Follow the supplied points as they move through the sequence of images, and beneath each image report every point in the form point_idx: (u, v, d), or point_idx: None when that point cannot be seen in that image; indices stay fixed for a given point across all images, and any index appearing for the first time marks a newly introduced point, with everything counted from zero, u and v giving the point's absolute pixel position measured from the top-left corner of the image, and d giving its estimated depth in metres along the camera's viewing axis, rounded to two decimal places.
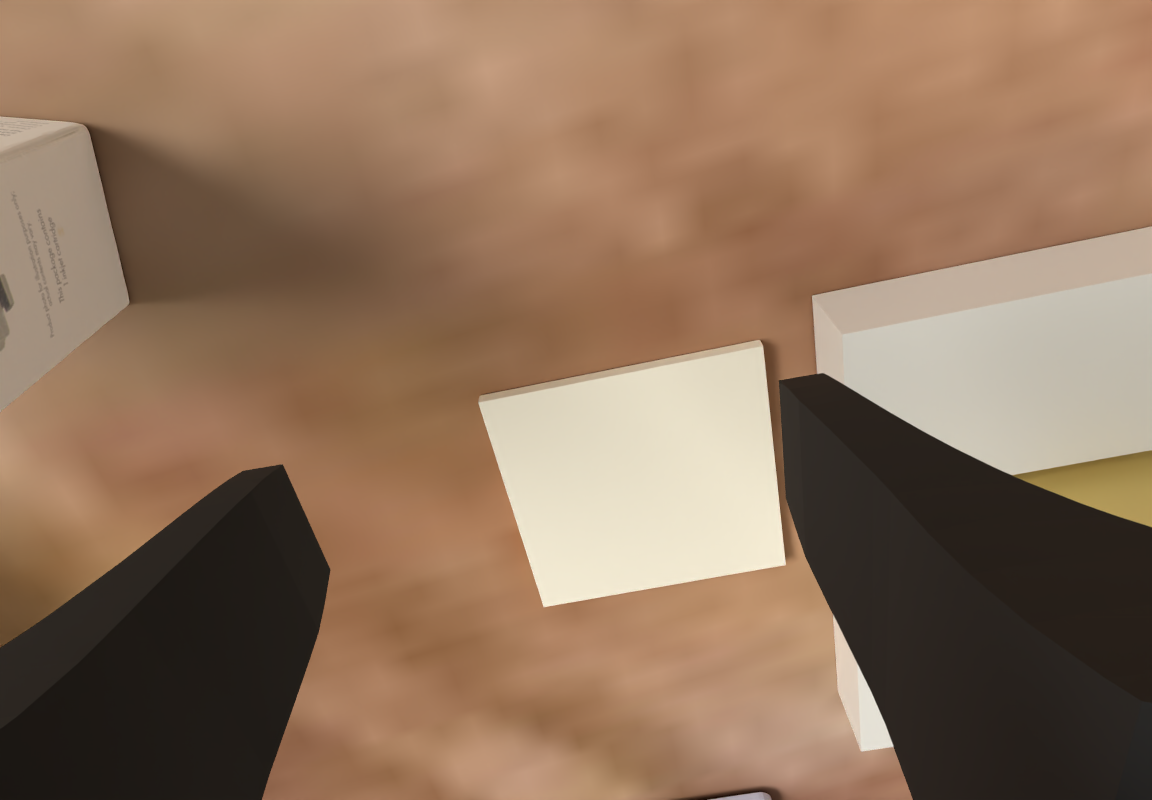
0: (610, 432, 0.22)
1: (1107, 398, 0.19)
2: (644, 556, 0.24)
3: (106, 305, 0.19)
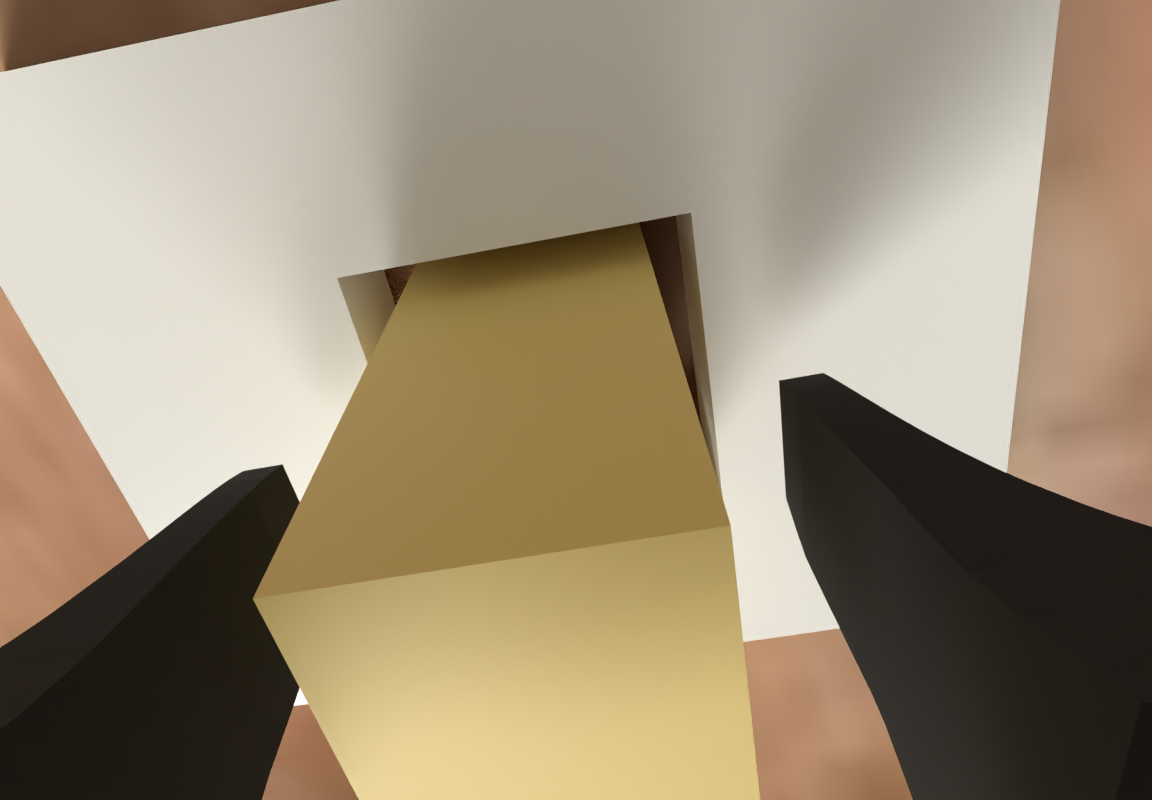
0: None
1: (283, 443, 0.14)
2: None
3: None
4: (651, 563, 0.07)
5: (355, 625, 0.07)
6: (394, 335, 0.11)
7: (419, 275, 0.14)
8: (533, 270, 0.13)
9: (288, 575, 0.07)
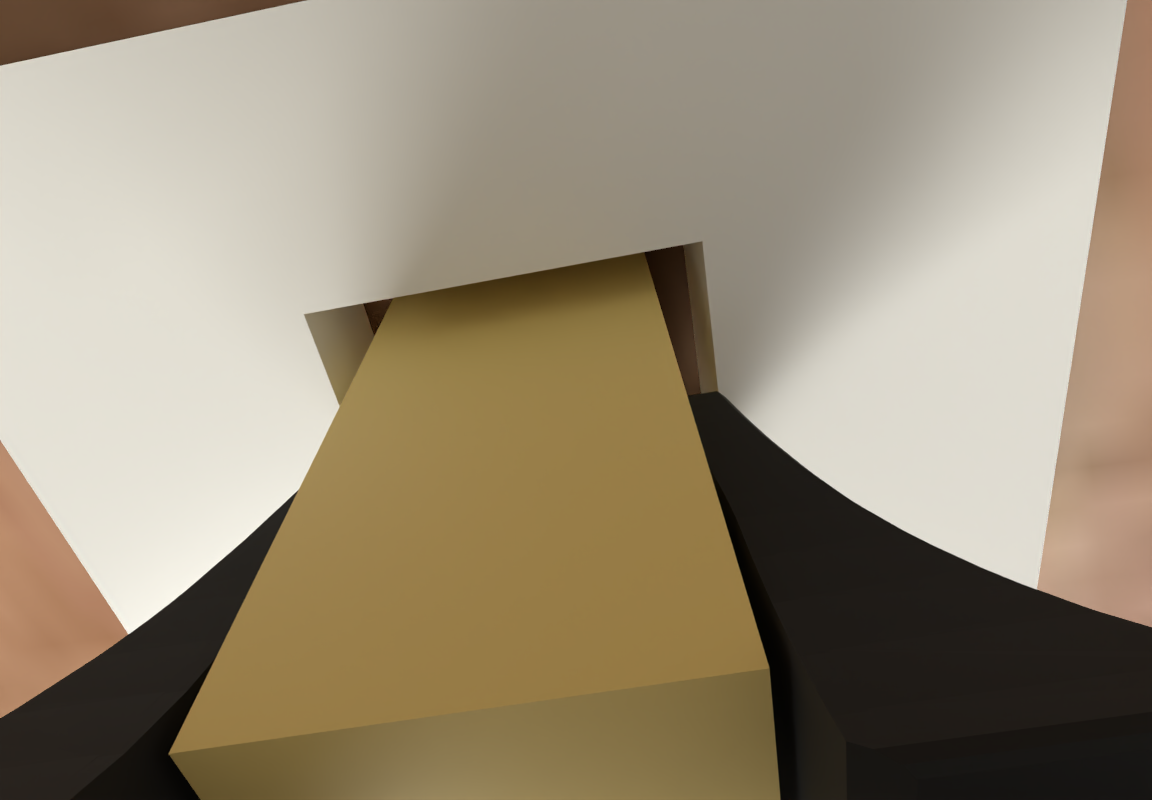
0: None
1: (249, 493, 0.12)
2: None
3: None
4: (667, 710, 0.05)
5: (299, 780, 0.06)
6: (366, 382, 0.10)
7: (398, 306, 0.12)
8: (525, 303, 0.11)
9: (218, 718, 0.06)
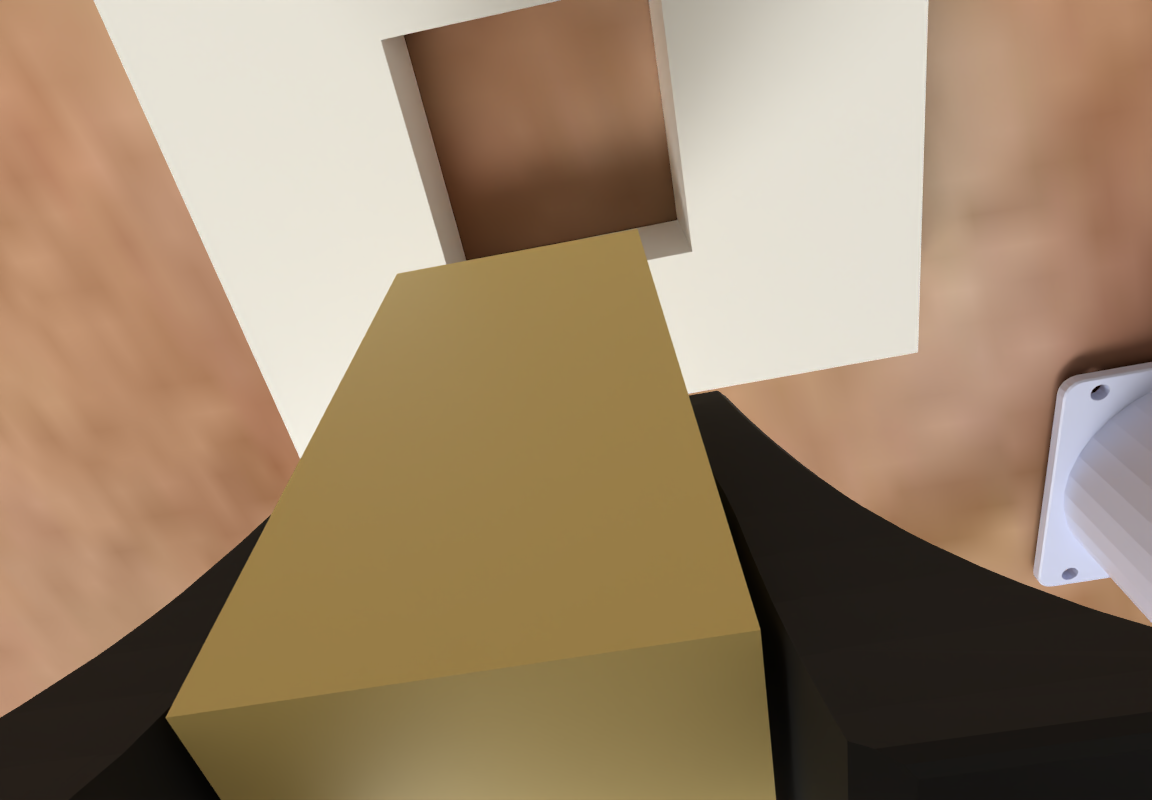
0: None
1: (335, 194, 0.17)
2: None
3: None
4: (661, 675, 0.05)
5: (295, 745, 0.06)
6: (363, 365, 0.10)
7: (396, 293, 0.12)
8: (522, 288, 0.12)
9: (214, 684, 0.06)
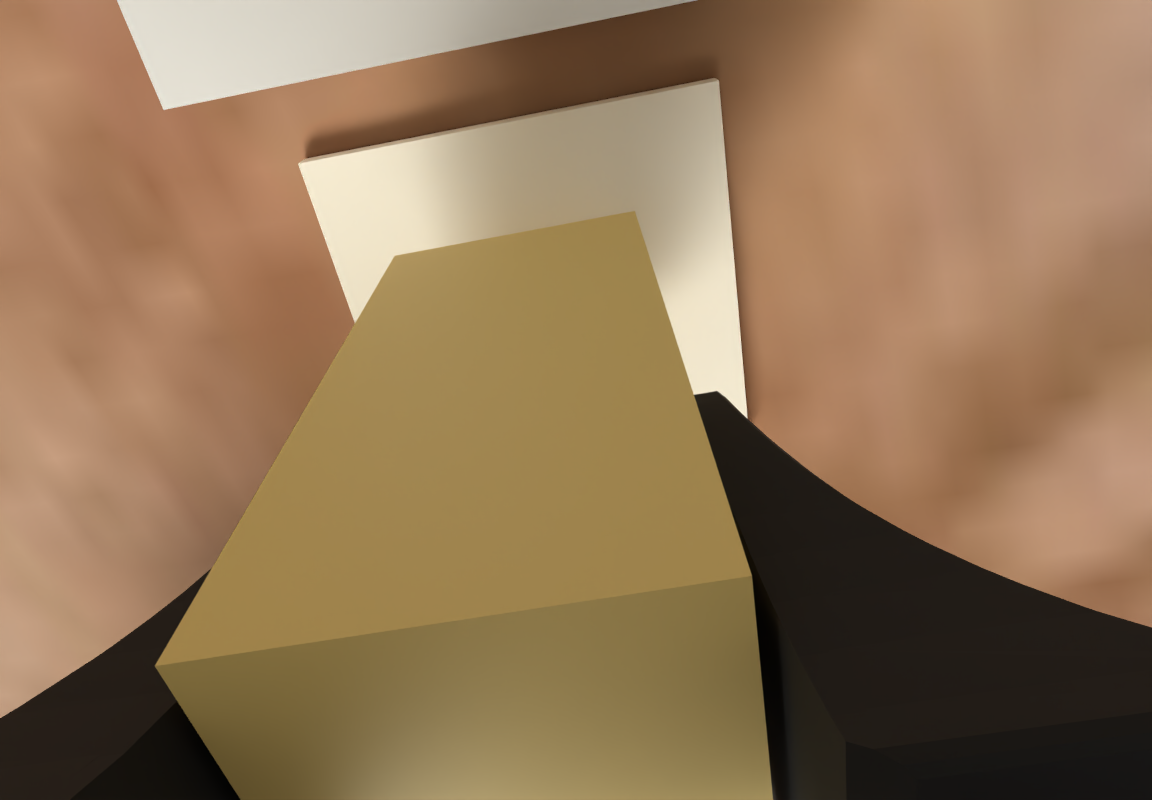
0: None
1: None
2: (671, 313, 0.16)
3: None
4: (651, 622, 0.05)
5: (285, 696, 0.06)
6: (359, 340, 0.10)
7: (393, 273, 0.12)
8: (518, 267, 0.12)
9: (204, 635, 0.06)
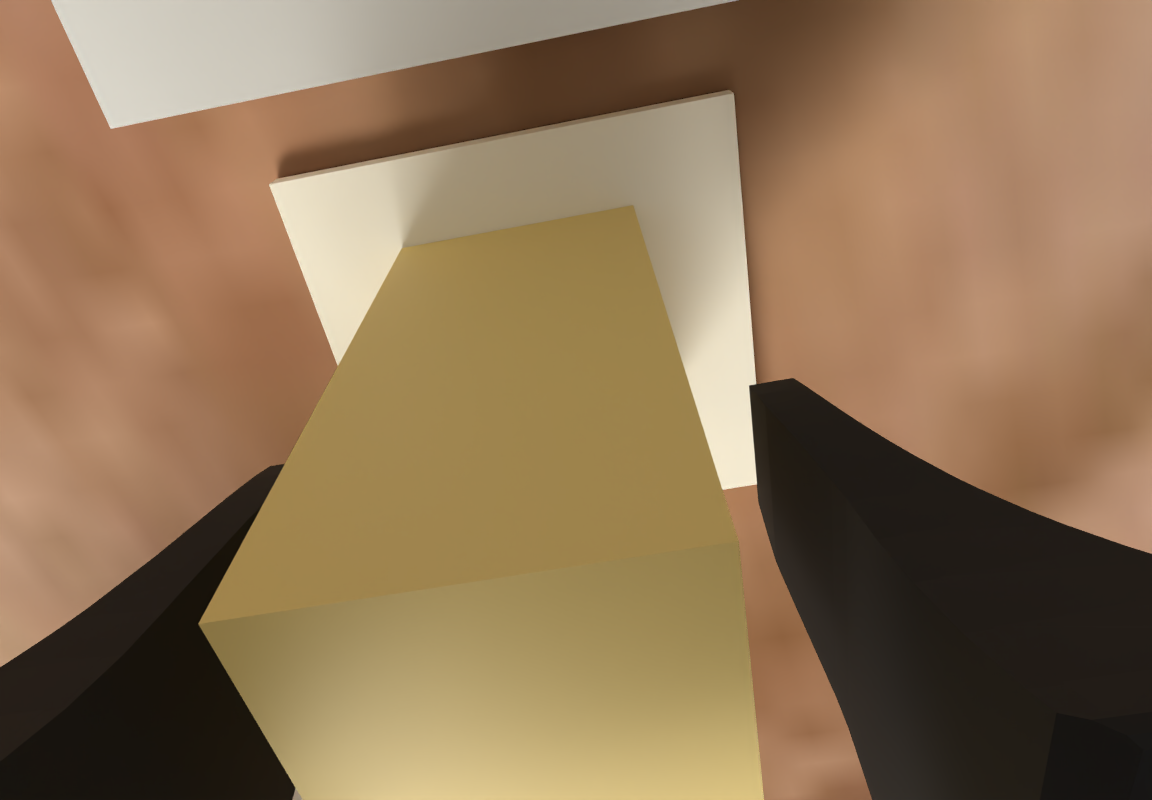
0: None
1: None
2: (679, 345, 0.15)
3: None
4: (649, 583, 0.06)
5: (315, 652, 0.06)
6: (372, 328, 0.11)
7: (401, 265, 0.13)
8: (522, 259, 0.12)
9: (241, 597, 0.06)
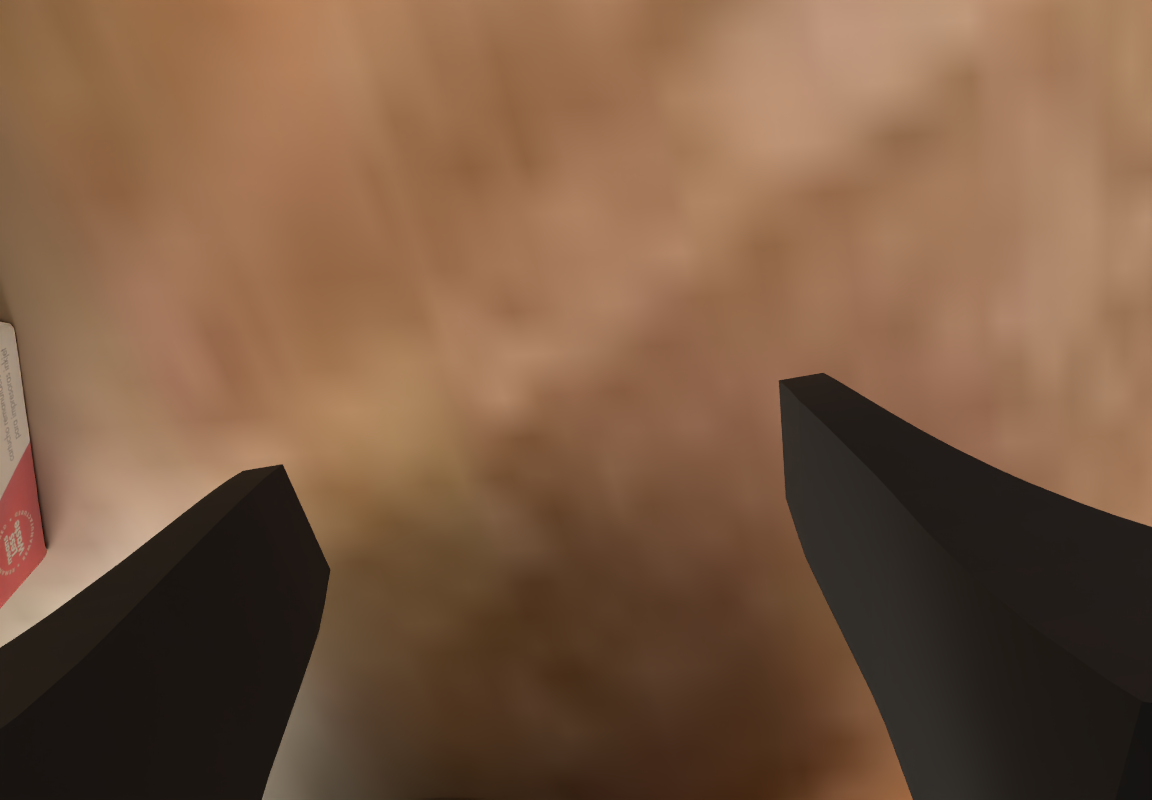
0: None
1: None
2: None
3: None
4: None
5: None
6: None
7: None
8: None
9: None
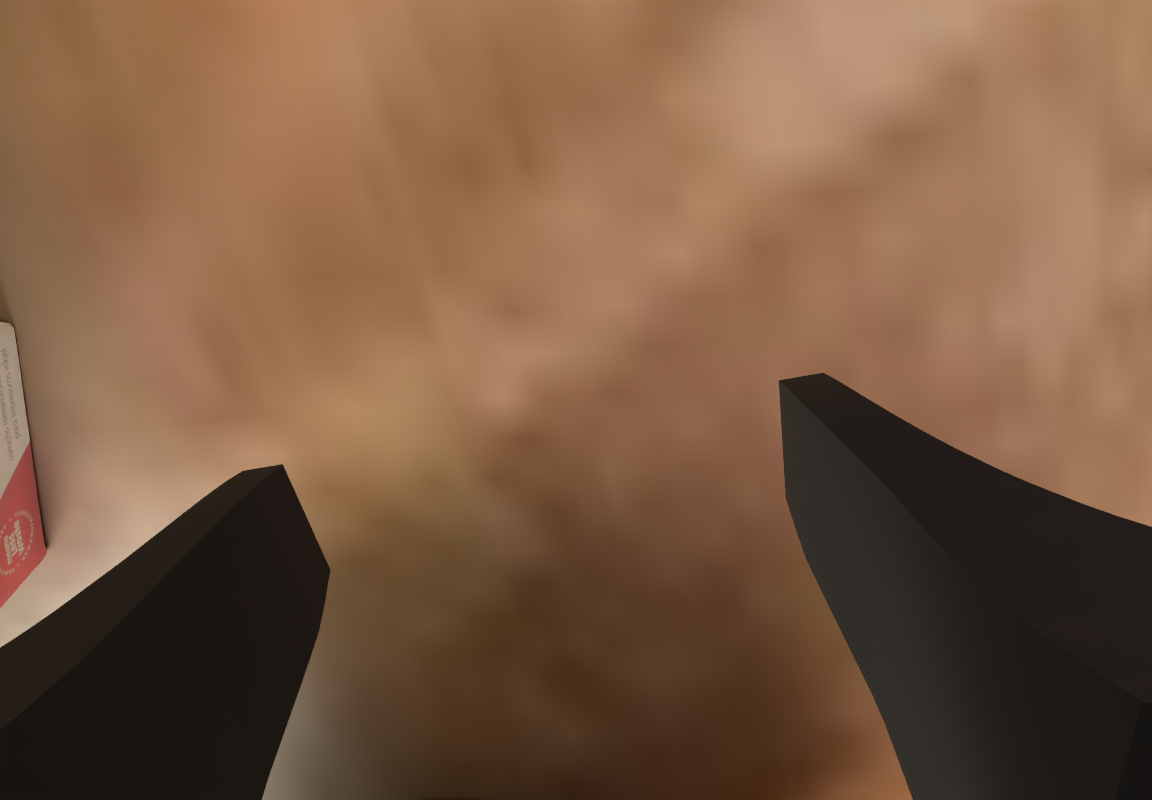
0: None
1: None
2: None
3: None
4: None
5: None
6: None
7: None
8: None
9: None
